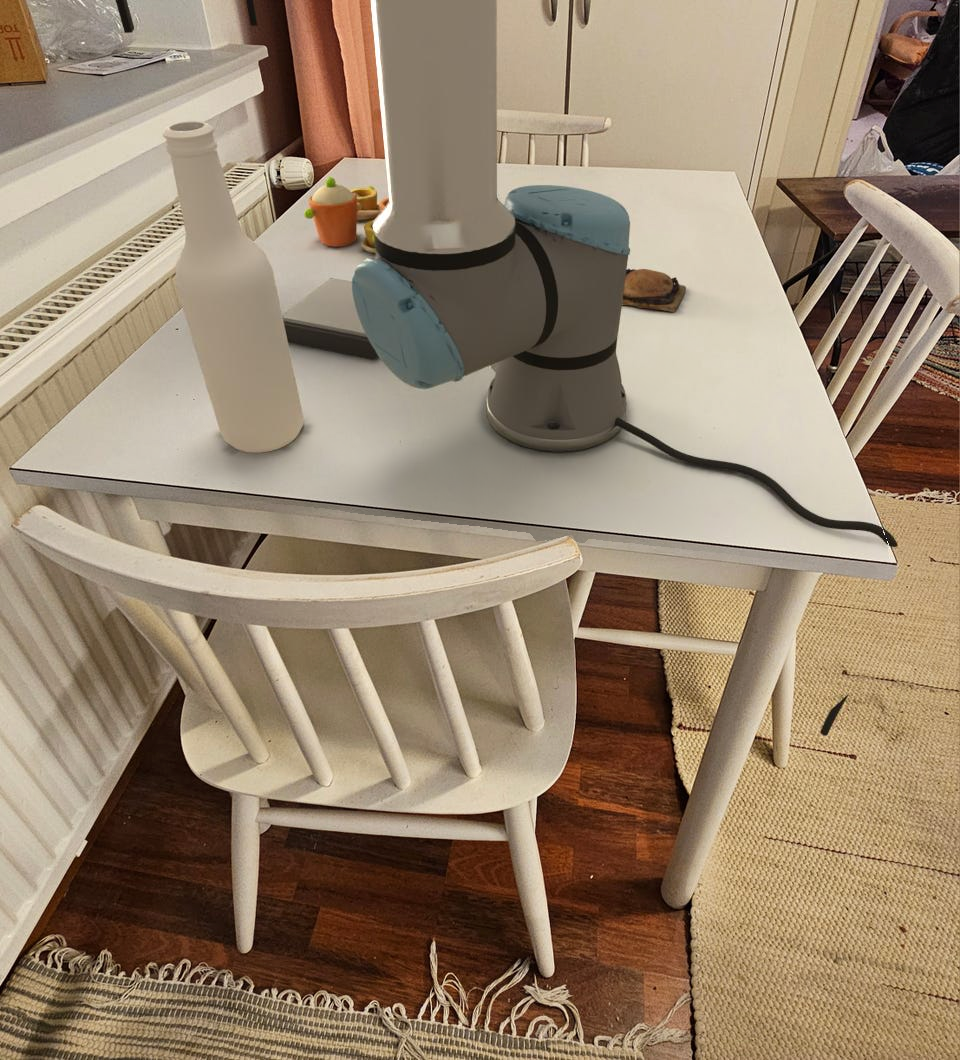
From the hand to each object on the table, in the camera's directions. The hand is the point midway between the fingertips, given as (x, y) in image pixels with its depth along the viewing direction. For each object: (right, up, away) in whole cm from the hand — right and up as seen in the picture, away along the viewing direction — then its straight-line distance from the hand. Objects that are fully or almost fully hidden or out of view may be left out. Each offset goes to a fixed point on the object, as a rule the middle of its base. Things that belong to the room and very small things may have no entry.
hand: (192, 27), depth 85 cm
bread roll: (+55, -24, +20) cm, 64 cm away
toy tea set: (+15, -6, +40) cm, 44 cm away
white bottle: (+9, -46, -4) cm, 47 cm away
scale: (+16, -30, +14) cm, 37 cm away
